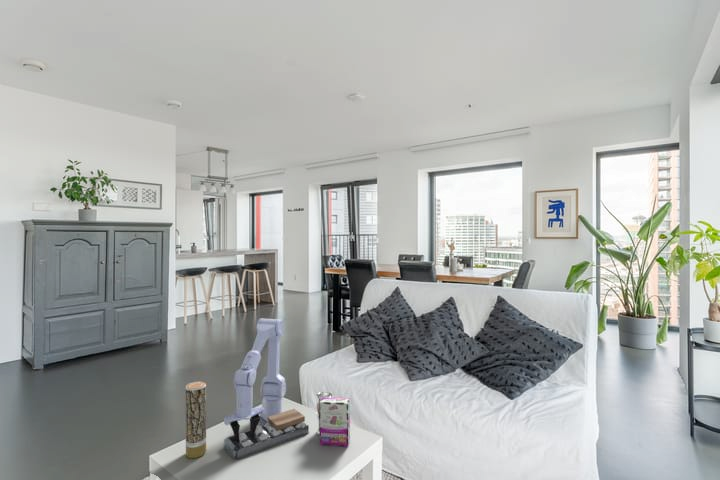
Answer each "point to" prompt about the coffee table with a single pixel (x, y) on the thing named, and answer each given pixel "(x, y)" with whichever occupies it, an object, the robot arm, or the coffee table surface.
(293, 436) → the roller bed
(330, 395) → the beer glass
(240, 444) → the roller
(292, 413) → the slab
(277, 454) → the coffee table surface
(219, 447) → the coffee table surface
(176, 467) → the coffee table surface
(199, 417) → the paper tube
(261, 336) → the robot arm
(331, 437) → the candy bar box
